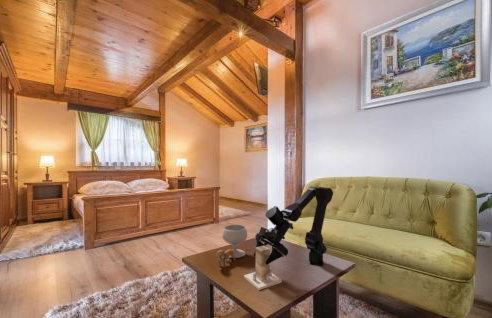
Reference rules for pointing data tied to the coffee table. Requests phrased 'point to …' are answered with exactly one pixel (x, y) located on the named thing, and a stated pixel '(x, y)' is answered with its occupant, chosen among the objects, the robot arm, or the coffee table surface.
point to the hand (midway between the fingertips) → (259, 260)
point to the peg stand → (269, 281)
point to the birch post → (262, 262)
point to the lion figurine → (224, 256)
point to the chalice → (235, 238)
